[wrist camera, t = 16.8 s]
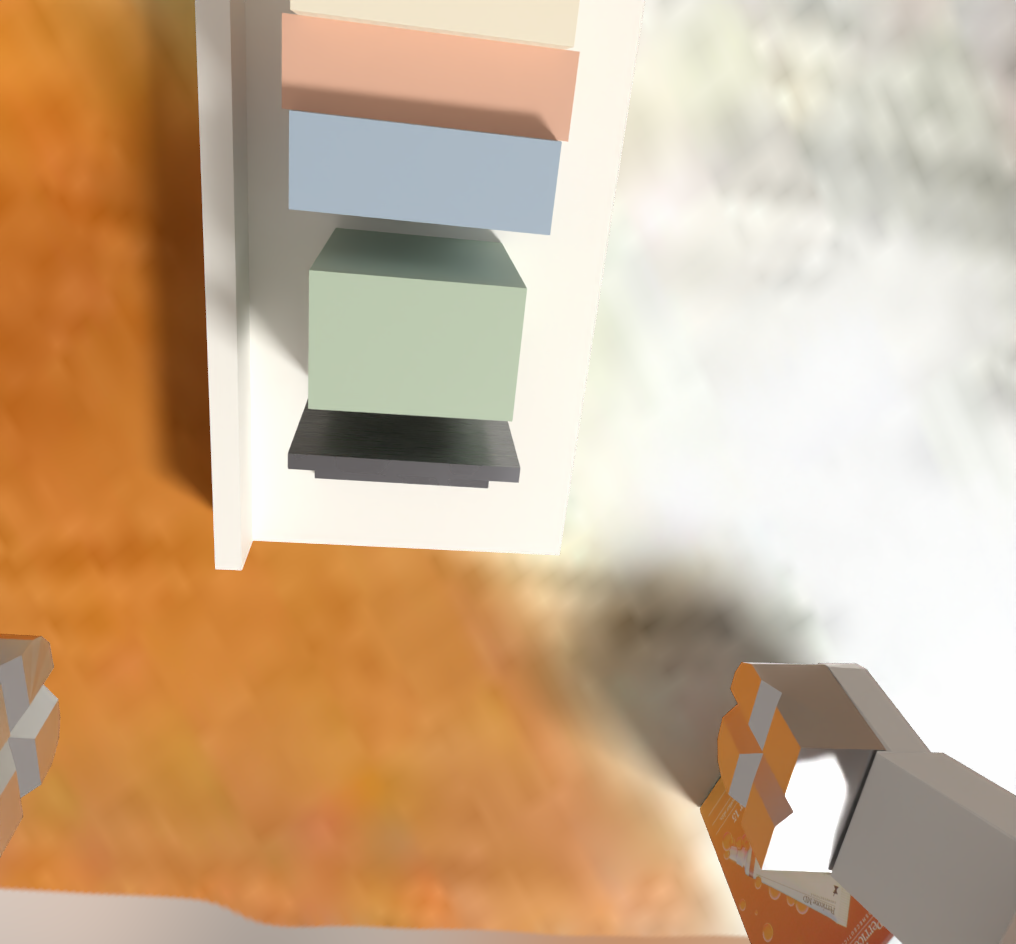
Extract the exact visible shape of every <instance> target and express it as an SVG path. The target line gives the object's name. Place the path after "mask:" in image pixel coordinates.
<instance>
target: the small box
mask: <svg viewBox="0 0 1016 944" xmlns="http://www.w3.org/2000/svg"><path fill="white" fill-rule="evenodd" d="M700 812H701V815H702V817H703V820H704V822H705V825H706V828H707V830H708V833H709V836H710V838H711V841H712V843H713V846H714V848H715V851H716V854H717V857H718V859H719V862H720V864H721V867H722V870H723V872H724V875H725V878H726V880H727V883H728V885H729V888H730V891H731V893H732V896H733V898H734V901H735V904H736V906H737V909H738V912H739V914H740V917H741V919H742V922H743V925H744V927H745V930H746V932H747V935H748V938H749V940H750V943H751V944H902V943H901V942H900V941H899V940H898V939H897V938H896V937H895V936H894V935H893V934H892V933H891V932H890V931H888V930H887V929H886V928H885V927H884V926H883V925H882V924H881V923H880V922H879V921H878V920H877V919H876V918H875V917H874V916H873V915H872V914H871V913H869V912H868V911H867V910H866V909H865V908H864V907H863V906H862V905H861V904H860V903H859V902H858V901H857V900H856V899H855V898H854V897H853V896H851V895H850V894H849V893H848V892H847V891H846V890H845V889H844V888H843V887H842V886H841V885H840V884H839V883H838V882H837V881H836V880H835V879H833V878H832V877H831V876H830V875H831V873H832V872H810V871H779V870H761V868H760V866H759V863H758V861H757V859H756V857H755V854H754V852H753V850H752V848H751V845H750V843H749V841H748V839H747V836H746V834H745V832H744V830H743V827H742V825H741V822H742V818H743V815H744V812H745V807H743V806H742V805H741V804H740V803H738V802H737V801H736V800H735V799H733V798H732V797H731V796H730V795H728V793H727V790H726V788H725V785H724V783H723V781H722V778H721V777H720V779H719V780H718V782H717V783H716V785H715V786H714V788H713V789H712V791H711V793H710V794H709V796H708V797H707V799H705V801H704V802H703V804H702V806H701V807H700Z"/></svg>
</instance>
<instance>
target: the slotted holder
mask: <svg viewBox="0 0 1016 944" xmlns="http://www.w3.org/2000/svg"><path fill="white" fill-rule="evenodd" d="M644 6H645V0H195V18H196V46H197V74H198V102H199V130H200V157H201V185H202V213H203V241H204V269H205V297H206V325H207V352H208V380H209V408H210V436H211V464H212V492H213V520H214V547H215V569H224V570H242V569H243V566H244V563H245V561H246V558H247V555H248V552H249V550H250V547H251V544H252V542H253V540H254V541H275V542H296V543H316V544H337V545H358V546H378V547H399V548H420V549H440V550H461V551H482V552H502V553H523V554H544V555H560V549H561V543H562V536H563V530H564V523H565V517H566V511H567V504H568V498H569V491H570V485H571V478H572V472H573V465H574V459H575V452H576V446H577V439H578V433H579V426H580V420H581V413H582V407H583V400H584V394H585V388H586V381H587V375H588V368H589V362H590V355H591V349H592V342H593V336H594V329H595V323H596V316H597V310H598V303H599V297H600V290H601V284H602V277H603V271H604V264H605V258H606V252H607V245H608V239H609V232H610V226H611V219H612V213H613V206H614V200H615V193H616V187H617V180H618V174H619V167H620V161H621V154H622V148H623V141H624V135H625V129H626V122H627V116H628V109H629V103H630V96H631V90H632V83H633V77H634V70H635V64H636V57H637V51H638V44H639V38H640V31H641V25H642V18H643V12H644ZM335 228H344V229H355V230H366V231H377V232H388V233H399V234H410V235H421V236H432V237H443V238H454V239H466V240H477V241H488V242H499V243H502V244H503V246H504V248H505V250H506V251H507V253H508V255H509V257H510V259H511V260H512V262H513V264H514V266H515V268H516V269H517V271H518V273H519V275H520V276H521V278H522V280H523V282H524V284H525V285H526V287H527V295H526V304H525V313H524V322H523V330H522V339H521V348H520V357H519V366H518V375H517V384H516V393H515V402H514V411H513V420H512V421H495V420H479V419H463V418H447V417H431V416H415V415H399V414H383V413H367V412H351V411H335V410H319V409H308V352H309V269H310V268H311V266H312V265H313V263H314V261H315V260H316V258H317V257H318V255H319V254H320V252H321V250H322V249H323V247H324V246H325V244H326V243H327V241H328V239H329V238H330V236H331V235H332V233H333V231H334V230H335Z"/></svg>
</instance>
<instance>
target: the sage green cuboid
mask: <svg viewBox="0 0 1016 944" xmlns="http://www.w3.org/2000/svg"><path fill="white" fill-rule="evenodd" d="M526 295H527V287H526V285H525V284H524V282H523V280H522V278H521V276H520V275H519V273H518V271H517V269H516V268H515V266H514V264H513V262H512V260H511V259H510V257H509V255H508V253H507V251H506V250H505V248H504V246H503V244H502V243H499V242H488V241H477V240H466V239H454V238H443V237H432V236H421V235H410V234H399V233H388V232H377V231H366V230H355V229H344V228H335V230H334V231H333V233H332V235H331V236H330V238H329V239H328V241H327V243H326V244H325V246H324V247H323V249H322V250H321V252H320V254H319V255H318V257H317V258H316V260H315V261H314V263H313V265H312V266H311V268H310V269H309V352H308V409H319V410H335V411H351V412H367V413H383V414H399V415H415V416H431V417H447V418H463V419H479V420H495V421H512V420H513V411H514V402H515V393H516V384H517V375H518V366H519V357H520V348H521V339H522V330H523V322H524V313H525V304H526Z"/></svg>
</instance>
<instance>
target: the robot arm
mask: <svg viewBox="0 0 1016 944" xmlns="http://www.w3.org/2000/svg"><path fill="white" fill-rule="evenodd" d="M53 668H54V665H53V659H52V654H51V648H50V643H49V642H48V641H47V640H46V639H44V638H43V637H42V636H31V635H14V634H0V857H1V855H2V854H3V852H4V850H5V848H6V847H7V845H8V843H9V841H10V839H11V838H12V836H13V834H14V832H15V831H16V829H17V827H18V825H19V823H20V822H21V820H22V818H23V811H22V805H21V797H23V796H24V795H26V794H27V793H29V792H30V791H32V790H33V789H35V788H36V787H38V786H40V785H41V784H42V782H43V780H44V778H45V776H46V774H47V772H48V770H49V769H50V767H51V765H52V762H53V758H54V755H55V751H56V747H57V744H58V740H59V731H60V710H59V702H58V699H57V698H56V697H55V696H54V695H53V694H52V693H51V692H50V691H49V690H48V689H47V688H46V687H45V686H44V685H43V684H44V682H45V681H46V679H47V677H48V676H49V674H50V673H51V671H52V670H53ZM730 689H731V691H732V693H733V695H734V697H735V699H736V701H737V703H738V704H737V705H736V706H735V707H733V708H732V709H731V710H730V711H729V712H728V713H727V714H726V715H725V716H723V717H722V722H721V726H720V730H719V735H718V739H717V741H718V765H719V769H720V774H721V778H722V781H723V783H724V785H725V788H726V790H727V793H728V795H730V796H731V797H732V798H733V799H735V800H736V801H737V802H738V803H740V804H741V805H742V806H743V807H745V812H744V815H743V818H742V822H741V825H742V827H743V830H744V832H745V834H746V836H747V839H748V841H749V843H750V845H751V848H752V850H753V852H754V854H755V857H756V859H757V861H758V863H759V866H760V868H761V870H779V871H810V872H832V873H831V875H830V876H831V877H832V878H833V879H835V880H836V881H837V882H838V883H839V884H840V885H841V886H842V887H843V888H844V889H845V890H846V891H847V892H848V893H849V894H850V895H851V896H853V897H854V898H855V899H856V900H857V901H858V902H859V903H860V904H861V905H862V906H863V907H864V908H865V909H866V910H867V911H868V912H869V913H871V914H872V915H873V916H874V917H875V918H876V919H877V920H878V921H879V922H880V923H881V924H882V925H883V926H884V927H885V928H886V929H887V930H888V931H890V932H891V933H892V934H893V935H894V936H895V937H896V938H897V939H898V940H899V941H900V942H901V943H902V944H1016V795H1014V794H1012V793H1010V792H1009V791H1007V790H1005V789H1004V788H1002V787H1000V786H999V785H997V784H995V783H994V782H992V781H990V780H988V779H987V778H985V777H983V776H982V775H980V774H978V773H977V772H975V771H973V770H971V769H970V768H968V767H966V766H965V765H963V764H961V763H960V762H958V761H956V760H955V759H953V758H951V757H949V756H948V755H946V754H944V753H933V752H930V750H929V749H928V748H927V746H926V745H925V744H924V743H923V741H922V740H921V739H920V737H919V736H918V735H917V734H916V732H915V731H914V730H913V728H912V727H911V726H910V725H909V723H908V722H907V721H906V719H905V718H904V717H903V716H902V714H901V713H900V712H899V710H898V709H897V708H896V707H895V705H894V704H893V703H892V701H891V700H890V699H889V698H888V696H887V695H886V694H885V692H884V691H883V690H882V688H881V687H880V686H879V685H878V683H877V682H876V681H875V679H874V678H873V677H872V676H871V674H870V673H869V672H868V670H867V669H865V668H864V667H862V666H860V665H858V664H857V663H818V664H786V663H751V662H741V664H740V665H739V667H738V668H737V670H736V671H735V674H734V677H733V681H732V684H731V688H730Z"/></svg>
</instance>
